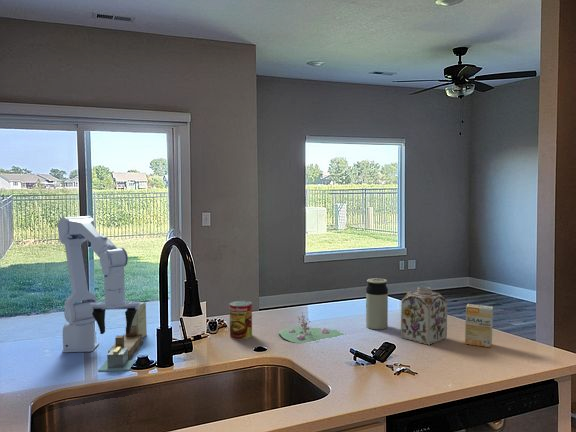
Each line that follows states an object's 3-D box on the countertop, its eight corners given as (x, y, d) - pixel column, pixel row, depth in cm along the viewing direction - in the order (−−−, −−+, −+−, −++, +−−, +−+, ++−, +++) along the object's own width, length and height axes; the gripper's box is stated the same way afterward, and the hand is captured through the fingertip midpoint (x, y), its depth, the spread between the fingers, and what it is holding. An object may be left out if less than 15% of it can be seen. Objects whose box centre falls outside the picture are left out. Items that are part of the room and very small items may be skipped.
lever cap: (107, 368, 145) (107, 352, 145) (113, 361, 151) (112, 345, 151) (123, 367, 145) (122, 351, 145) (128, 360, 151) (127, 345, 151)
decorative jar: (428, 346, 164) (429, 292, 163) (399, 338, 173) (400, 287, 172) (448, 338, 172) (448, 287, 171) (419, 331, 181) (419, 282, 180)
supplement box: (464, 344, 165) (465, 306, 164) (466, 340, 170) (467, 303, 169) (491, 348, 161) (491, 308, 161) (492, 344, 166) (493, 305, 165)
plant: (338, 326, 190) (338, 302, 190) (355, 342, 170) (355, 316, 170) (274, 329, 186) (274, 306, 185) (284, 347, 166) (283, 320, 165)
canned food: (225, 338, 174) (225, 304, 173) (236, 332, 181) (236, 299, 181) (245, 340, 171) (245, 306, 171) (255, 334, 179) (255, 301, 178)
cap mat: (98, 371, 143) (98, 370, 143) (106, 361, 151) (106, 360, 151) (129, 370, 144) (129, 369, 144) (136, 360, 152) (136, 359, 152)
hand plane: (130, 360, 153) (129, 337, 152) (107, 360, 152) (106, 338, 152) (143, 342, 170) (142, 322, 170) (122, 342, 170) (122, 322, 169)
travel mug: (390, 326, 188) (390, 279, 187) (382, 331, 181) (383, 282, 180) (371, 323, 192) (371, 277, 191) (362, 328, 185) (362, 280, 184)
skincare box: (138, 340, 172) (137, 306, 172) (126, 339, 173) (126, 305, 173) (147, 335, 179) (146, 301, 178) (135, 334, 180) (135, 301, 179)
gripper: (85, 291, 144) (86, 337, 145) (135, 291, 145) (136, 336, 146) (93, 286, 151) (94, 330, 152) (141, 286, 152) (142, 329, 153)
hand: (115, 332), depth 149 cm, fingers open, 7 cm apart
